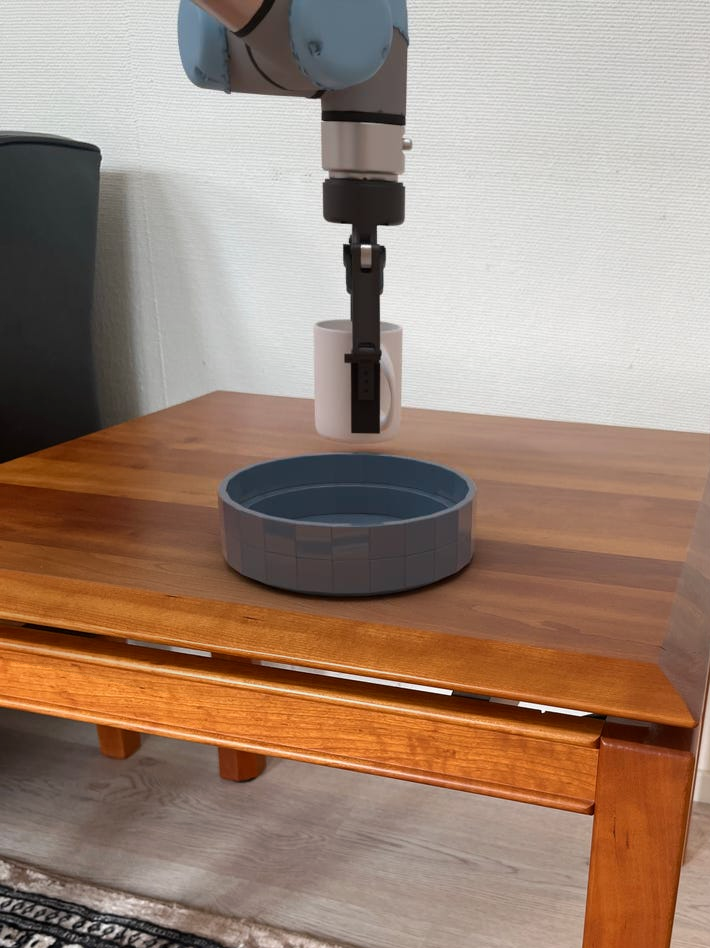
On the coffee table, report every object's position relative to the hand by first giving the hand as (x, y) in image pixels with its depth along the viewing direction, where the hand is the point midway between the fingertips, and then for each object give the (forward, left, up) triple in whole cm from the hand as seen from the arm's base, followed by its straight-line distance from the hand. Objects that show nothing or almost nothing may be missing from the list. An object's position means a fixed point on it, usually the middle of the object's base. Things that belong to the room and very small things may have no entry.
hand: (364, 419), depth 102 cm
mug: (0, 0, -2) cm, 2 cm away
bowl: (-2, -27, -4) cm, 27 cm away
